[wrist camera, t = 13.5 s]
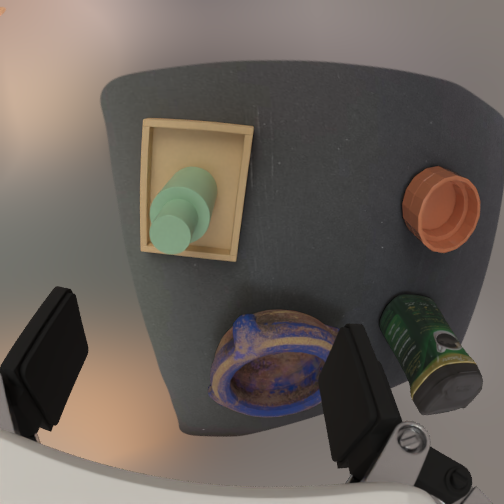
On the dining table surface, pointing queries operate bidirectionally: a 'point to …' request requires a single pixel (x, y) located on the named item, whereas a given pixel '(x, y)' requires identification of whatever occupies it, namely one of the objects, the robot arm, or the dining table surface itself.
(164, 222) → the bottle
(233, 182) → the tray
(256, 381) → the bowl
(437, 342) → the coffee jar
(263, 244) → the dining table surface
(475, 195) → the clay bowl
